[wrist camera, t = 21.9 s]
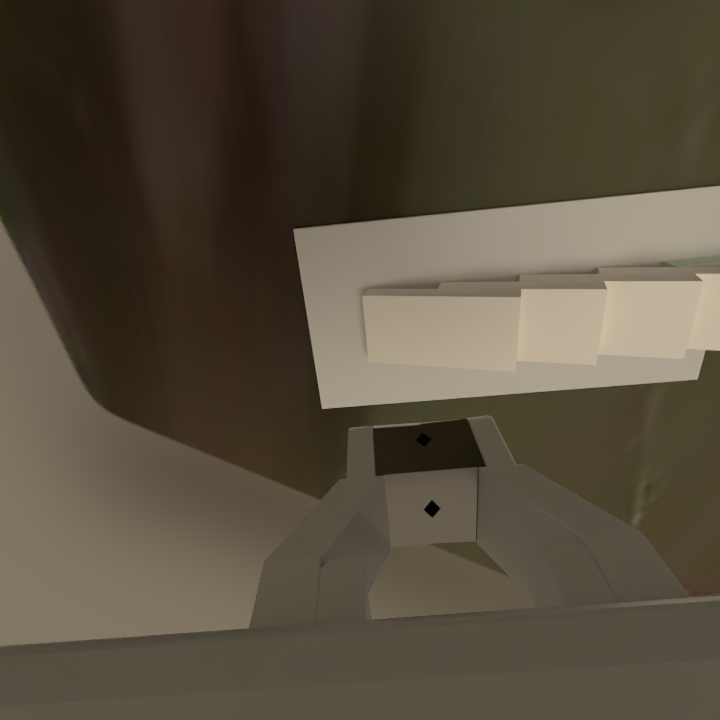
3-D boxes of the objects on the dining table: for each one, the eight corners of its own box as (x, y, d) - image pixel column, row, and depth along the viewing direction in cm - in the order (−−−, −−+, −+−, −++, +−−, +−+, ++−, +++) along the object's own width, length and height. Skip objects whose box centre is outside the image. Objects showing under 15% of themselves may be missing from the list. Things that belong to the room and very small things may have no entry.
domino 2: (438, 356, 31) (596, 365, 28) (437, 288, 29) (607, 289, 26) (442, 347, 32) (592, 354, 29) (441, 281, 30) (603, 281, 27)
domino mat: (322, 406, 35) (322, 408, 35) (294, 228, 29) (293, 229, 29) (693, 376, 34) (697, 379, 33) (744, 182, 28) (749, 182, 27)
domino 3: (515, 350, 31) (684, 359, 27) (519, 281, 29) (703, 281, 25) (515, 341, 32) (677, 348, 29) (520, 274, 30) (694, 273, 26)
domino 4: (590, 344, 30) (771, 353, 27) (600, 273, 28) (799, 273, 25) (588, 335, 32) (761, 342, 28) (597, 267, 30) (786, 266, 26)
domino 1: (368, 362, 31) (516, 371, 28) (362, 295, 29) (520, 297, 26) (375, 352, 33) (516, 361, 29) (369, 288, 30) (521, 289, 27)
